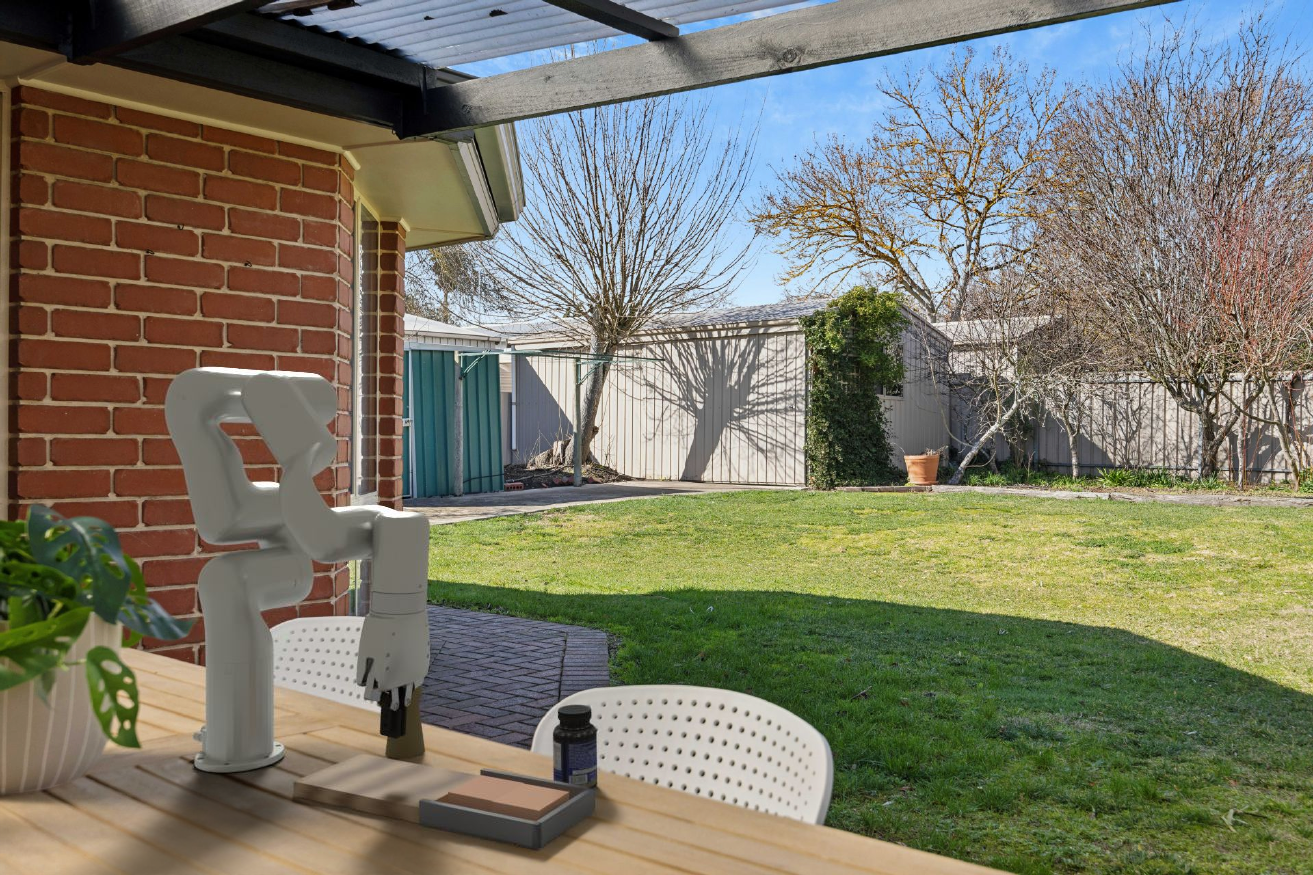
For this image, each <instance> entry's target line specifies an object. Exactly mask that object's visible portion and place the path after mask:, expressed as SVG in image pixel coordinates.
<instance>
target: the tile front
mask: <svg viewBox="0 0 1313 875" xmlns="http://www.w3.org/2000/svg"><path fill="white" fill-rule="evenodd" d="M567 801H569V792H567V791H561V790H556V789H550V788H545V787H539V786H534V785H528V784H522V785H520V786H518V787H517V788H515V789H513V790H511V791H509V792H508V793H506V794H504V795H502V796H501V797H499V798H497V799H495V800H493V801H492V813H497V814H501V815H506V816H511V817H516V818H521V819H526V820H531V821H537V820H539V819H541V818H542V817H544V816H545V815H547V814H548V813H550V812H552V811H553V810H555V809H556V808H558V807H559V806H561V805H563V804H564V803H566V802H567Z"/></svg>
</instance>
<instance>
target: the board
mask: <svg viewBox="0 0 1313 875" xmlns="http://www.w3.org/2000/svg"><path fill="white" fill-rule="evenodd" d="M478 776H480V774H475V773H474V774H473V773H468V772H463V771H456V770H453V769H447V768H441V767H436V766H432V765H431V766H430V765H426V764H419V763H414V762H410V761H409V762H408V761H405V760H404V761H403V760H397V759H392V758H386V757H381V756H376V755H371V754H365V753H360V754H358V755H354V756H353V757H351V758H347V759H345V760H342V761H340V762H338V763H336V764H333V765H331V766H328V767H325V768H322V769H320V770H318V771H315V772H313V773H310V774H307V775H305V776H303V777H301V778H297V779H296V780H293V782H292V783H293V789H292V790H293V794H292V796H293V797H295V798H301V799H306V800H309V801H310V800H311V801H315V802H320V803H325V804H328V805H332V806H338V807H343V808H347V809H352V810H355V811H361V812H366V813H369V814H373V815H380V816H384V817H389V818H393V819H398V820H402V821H406V822H411V823H417V824H419V800H421V799H428V800H432V801H437V802H442V803H447V804H448V792H449V791H451V790H453V789H455V788H457V787H459V786H461V785H463V784H465V783H467V782H468V781H470V780H472V779H474V778H476V777H478Z"/></svg>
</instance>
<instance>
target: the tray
mask: <svg viewBox="0 0 1313 875" xmlns="http://www.w3.org/2000/svg"><path fill="white" fill-rule="evenodd" d="M479 772H480V774H479V775H483V776H488V777H494V778H499V779H505V780H510V781H515V782H521V783H524V784H528V785H534V786H539V787H545V788H550V789H556V790H561V791H567V792H569V801H567V802H566V803H564V804H563V805H561V806H559V807H558V808H556V809H555V810H553V811H552V812H550V813H548V814H547V815H545V816H544V817H542V818H541V819H539V820H537V821H531V820H526V819H521V818H516V817H511V816H506V815H501V814H497V813H492V812H487V811H482V810H477V809H472V808H467V807H462V806H457V805H452V804H447V803H442V802H437V801H432V800H428V799H421V800H419V823H418V824H419V826H425V827H430V828H433V829H438V830H442V831H447V832H452V833H456V834H461V835H466V836H469V837H474V838H480V839H482V840H488V841H493V842H496V843H497V842H498V843H501V842H503V844H507V845H511V844H513V845H512V846H515V845H516V847H520V846H522V847H521V848H525V849H529V850H533V851H534V850H535V851H540V850H541V849H542V848H544V847H545V846H547V845H548V844H549V843H551V842H552V841H554V840H555V839H557V838H558V837H560V836H561V835H563V834H564V833H566V832H567V831H568V830H570V829H572V827H574V826H576V825H578V824H579V823H580V822H581V821H583V820H584V819H586V818H587V817H589V816H590V815H592V814H593V813H595V812H596V788H592V787H587V786H581V785H576V784H570V783H564V782H559V781H554V779H548V778H541V777H537V776H531V775H525V774H518V773H513V772H507V771H504V770H498V769H491V768H485V767H483V768H480V770H479ZM562 833H563V834H562ZM559 835H560V836H559ZM546 844H547V845H546ZM543 846H544V847H543ZM540 848H541V849H540Z"/></svg>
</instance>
